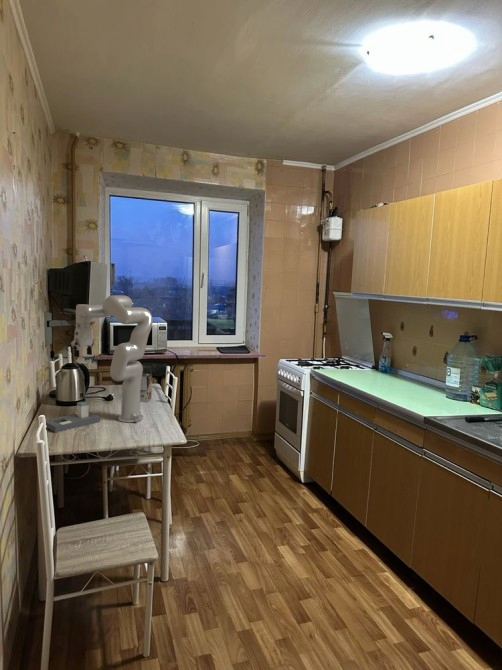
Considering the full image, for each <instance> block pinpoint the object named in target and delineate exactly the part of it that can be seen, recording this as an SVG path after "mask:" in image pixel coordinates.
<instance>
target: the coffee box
mask: <svg viewBox="0 0 502 670" xmlns="http://www.w3.org/2000/svg"><path fill="white" fill-rule="evenodd" d="M152 392H153V374H152V373H142V377H141V386H140V403H141V402H143V403H148V402H150V400H152V394H153V393H152Z"/></svg>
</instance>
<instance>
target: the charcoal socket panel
mask: <svg viewBox="0 0 502 670" xmlns="http://www.w3.org/2000/svg"><path fill="white" fill-rule="evenodd" d="M100 422H101V416H100V415H98V414H95V413H92V412H90V411H89V415H88V417H85V418H79V417H77V413H72V414H69V415H64V416H59V417H55V418H49V419H46V425H47V428H48V429H50V430H49V431H51V430H52V431H51V432H53V431H54V432H53V433H55V432H56V433H60V432H63V430H64V431H67V429H69V430H72V429H71V428H73V429H76V427H77V428H80V427H85V426H89V425H92V424H97V423H100ZM48 429H47V430H48ZM59 431H60V432H59Z"/></svg>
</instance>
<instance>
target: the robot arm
mask: <svg viewBox="0 0 502 670" xmlns="http://www.w3.org/2000/svg"><path fill="white" fill-rule="evenodd" d="M111 316H112V317H113V318H114V319H115V320H116V321H117V322H118V323H120V324H122V325H136V326H135V327H134V328H133V330H132V332H131V334H130V338H129V341H128V342H123V343H119V344H118V345H116V347H115V349H114V352H113V356H112V358H111V359H112V360H111V364H110V369H109V374H110V377H111V379H112V380H113V381H115V382H122V381H123V382H122V386H121V412H120V415H119V416H118V417H117V418H118V421H120V422H123V423H137V422H140V421H142V420H143V418H144V415H143V414H142V413H141V402H140V386H141V377H142V373H143V371H144V367H143V365H142V363H141V362H140V361H138V360H141V359H142V358H143V357H144V355H145V353H146V352H145V351H146V348H147V343H148V339H149V335H150V332H151V330H152V328H153V315H152V313H151V312H150V310H149V309H147V308H145V307H141V306H139V307H135V306H133V300H132V299H131V297H129V296H127V295H122V294H121V295H120V294H118V295H115V294H114V295H112V294H111V295H109V296H107V297H106V298H105V300H104V301H103V303H102V304H87V303H86V304H85V303H84V304H81V303H80V304H76V307H75V328H74V335H73V336H74V338H73V339H74V340H72V341H71V342H70V345H71V348H72V350H73V357H74V358H79V357H80V348H81V347H87V348H86V355H87V356H91V355H93V348H94V345H95V341H96V340H95V339H94V338H93V331H92V327H91V319H102V318H106V317H111Z"/></svg>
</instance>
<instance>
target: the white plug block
mask: <svg viewBox="0 0 502 670" xmlns="http://www.w3.org/2000/svg"><path fill="white" fill-rule="evenodd" d="M89 405H90V404H89V402H88V401H79V402H76V414H77V417H79V418H85V417H88V415H89V412H90V411H89V410H90V409H89V408H90V407H89Z"/></svg>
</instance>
